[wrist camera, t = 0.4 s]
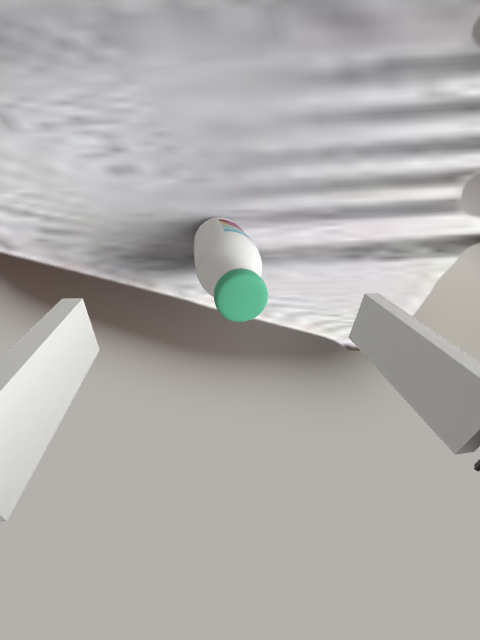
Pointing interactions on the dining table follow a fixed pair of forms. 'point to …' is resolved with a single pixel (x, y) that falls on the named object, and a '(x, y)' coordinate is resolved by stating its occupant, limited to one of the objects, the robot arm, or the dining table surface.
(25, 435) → the robot arm
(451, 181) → the dining table surface
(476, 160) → the dining table surface
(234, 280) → the milk bottle
